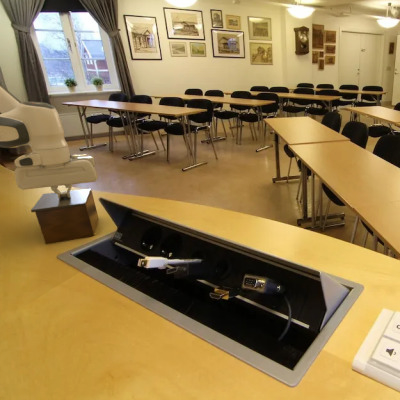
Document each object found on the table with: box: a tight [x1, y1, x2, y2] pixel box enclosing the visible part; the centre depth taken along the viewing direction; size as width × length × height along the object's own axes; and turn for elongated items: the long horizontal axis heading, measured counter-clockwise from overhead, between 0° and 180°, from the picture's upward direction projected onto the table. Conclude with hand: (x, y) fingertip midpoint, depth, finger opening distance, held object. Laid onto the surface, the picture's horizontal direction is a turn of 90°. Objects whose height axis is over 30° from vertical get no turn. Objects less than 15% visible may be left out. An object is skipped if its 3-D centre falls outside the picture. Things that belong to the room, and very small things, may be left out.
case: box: [34, 190, 99, 245], centre depth 107 cm, size 13×16×11 cm
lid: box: [30, 188, 92, 213], centre depth 104 cm, size 13×16×1 cm
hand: (65, 197), depth 104 cm, fingers closed, pressing on lid
